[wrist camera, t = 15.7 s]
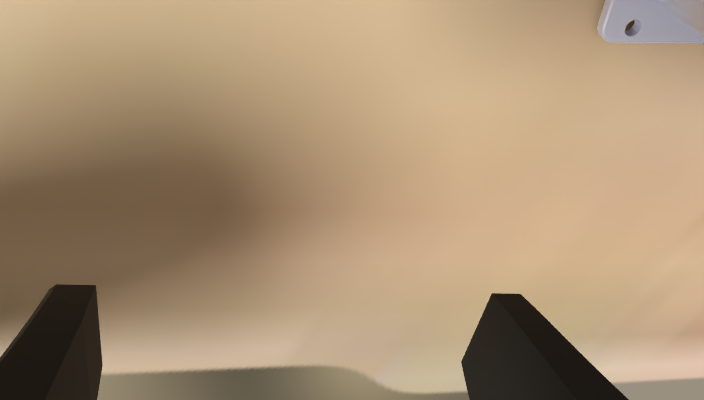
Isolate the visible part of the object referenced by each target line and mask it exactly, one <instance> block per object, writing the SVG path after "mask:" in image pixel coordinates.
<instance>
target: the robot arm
mask: <svg viewBox="0 0 704 400" xmlns="http://www.w3.org/2000/svg"><path fill="white" fill-rule="evenodd" d="M633 20H634V25H633V26H632V28H631V29H629V30H628V31H625V28H626V26H627V24H628V23H629V22H631V21H633ZM597 31H598V34H599V36H600V37H602V38H603V39H604V40H605V41H607V42H610V43H689V44H704V0H605V3H604V6H603V10H602V13H601V16H600V19H599V22H598V27H597ZM461 363H462V367H463V372H464V377H465V381H466V386H467V390H468V394H469V398H470V400H628V399H627V398H626V397H625V396H624V395H623V394H622V393H621V392H620V391H619V390H618V389H617V388H615V386H614V385H613V384H611V383H610V382H609V381H608V380H607V379H606V378H605V377H604V376H603V375H602V374H601V373H600V372H599V371H598V370H597V369H596V368H595V367H594V366H593V365H592V364H591V363H590V362H589V361H588V360H587V359H586V358H585V357H584V356H583V355H582V354H581V353H580V352H579V351H578V350H577V349H576V348H575V347H574V346H573V345H572V344H571V343H570V342H569V341H568V340H567V339H566V338H565V337H564V336H563V335H562V334H561V333H560V332H559V331H558V330H557V329H556V328H555V327H554V326H553V325H552V324H551V323H550V322H549V321H548V320H547V319H546V318H545V317H544V316H543V315H542V314H541V313H540V312H539V311H538V310H537V309H536V308H535V307H534V306H532V305H531V304H530V303H529V302H528V301H527V300H526V299H525V298H524V297H523V296H522V295H521V294H495V293H492V294H491V297H490V299H489V301H488V303H487V306H486V308H485V310H484V312H483V315H482V317H481V319H480V321H479V324H478V326H477V328H476V330H475V332H474V335H473V337H472V339H471V341H470V344H469V346H468V348H467V350H466V353H465V355H464V357H463V359H462V362H461ZM101 371H102V355H101V343H100V330H99V318H98V306H97V293H96V285H55V286H53V287H52V288H51V289H49V291H48V292H47V294H46V295H45V297H44V298H43V300H42V301H41V303H40V304H39V306H38V307H37V309H36V310H35V311H34V313H33V314H32V316H31V317H30V319H29V320H28V321H27V323H26V324H25V325H24V327H23V328H22V330H21V331H20V332H19V334H18V335H17V336H16V338H15V339H14V340H13V341H12V343H11V344H10V345H9V347H8V348H7V349H6V351H5V352H4V353H3V355H2V356H1V357H0V400H97V396H98V390H99V384H100V377H101Z"/></svg>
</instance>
